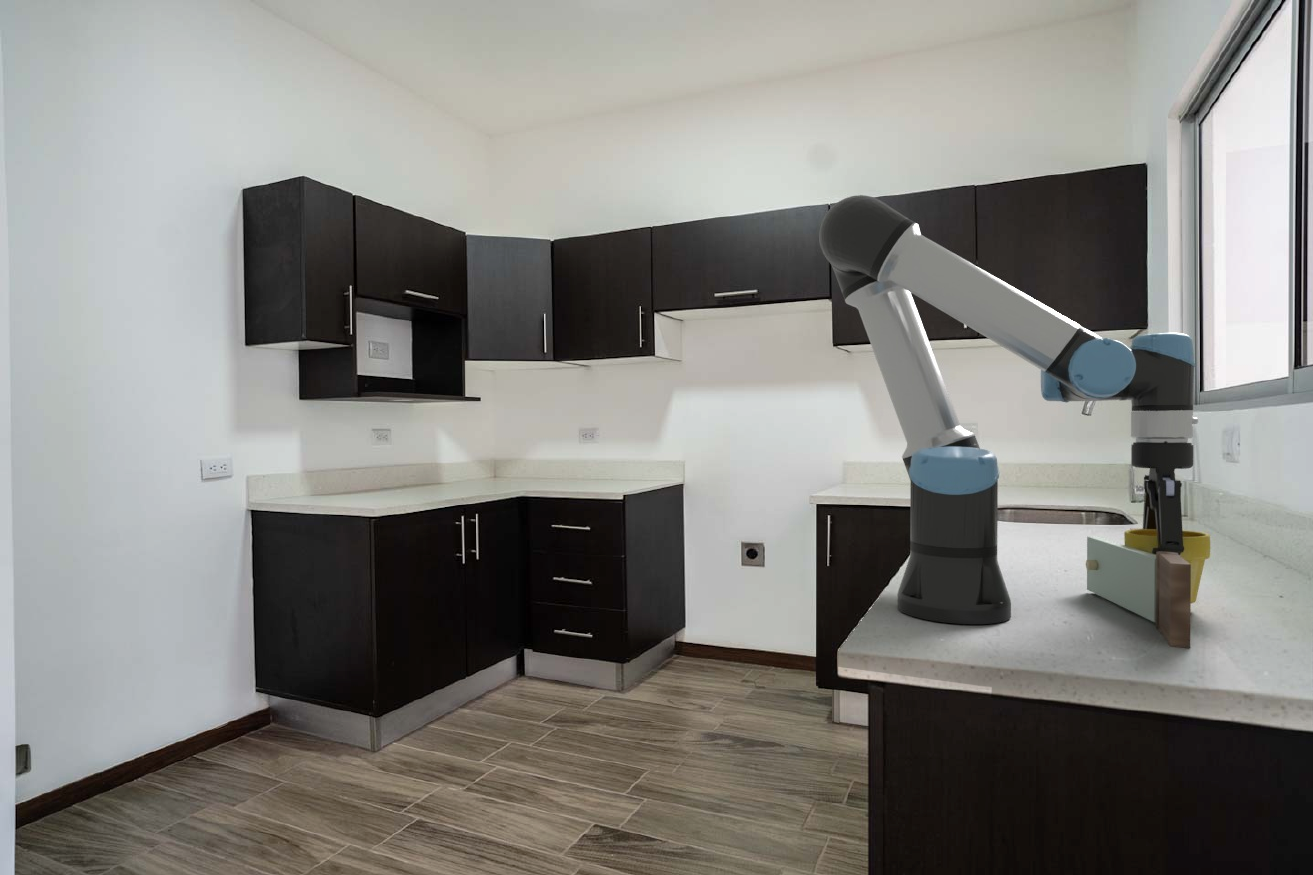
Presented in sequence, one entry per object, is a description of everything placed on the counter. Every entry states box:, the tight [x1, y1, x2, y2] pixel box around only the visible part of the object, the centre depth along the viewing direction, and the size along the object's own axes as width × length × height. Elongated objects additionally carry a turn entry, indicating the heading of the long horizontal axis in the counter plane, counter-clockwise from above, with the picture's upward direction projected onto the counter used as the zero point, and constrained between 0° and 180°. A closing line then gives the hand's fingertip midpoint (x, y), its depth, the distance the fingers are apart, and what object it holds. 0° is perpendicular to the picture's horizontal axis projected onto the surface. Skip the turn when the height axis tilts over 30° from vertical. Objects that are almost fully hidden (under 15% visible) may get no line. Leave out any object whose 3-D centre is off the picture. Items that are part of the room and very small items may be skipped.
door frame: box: [1129, 527, 1192, 649], centre depth 107 cm, size 2×36×10 cm, turn 155°
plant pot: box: [1123, 528, 1211, 604], centre depth 110 cm, size 10×10×10 cm
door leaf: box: [1085, 536, 1156, 623], centre depth 111 cm, size 3×21×8 cm, turn 172°
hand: (1161, 592), depth 110 cm, fingers open, 10 cm apart
